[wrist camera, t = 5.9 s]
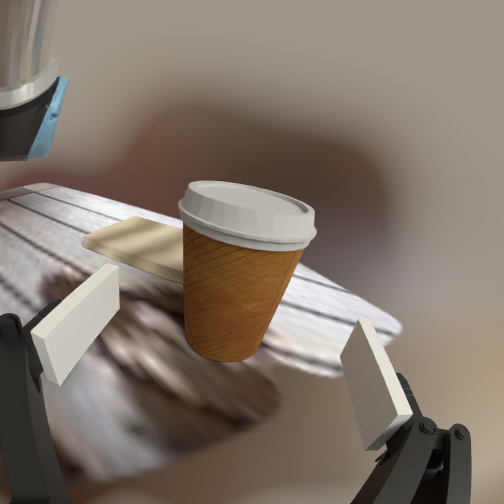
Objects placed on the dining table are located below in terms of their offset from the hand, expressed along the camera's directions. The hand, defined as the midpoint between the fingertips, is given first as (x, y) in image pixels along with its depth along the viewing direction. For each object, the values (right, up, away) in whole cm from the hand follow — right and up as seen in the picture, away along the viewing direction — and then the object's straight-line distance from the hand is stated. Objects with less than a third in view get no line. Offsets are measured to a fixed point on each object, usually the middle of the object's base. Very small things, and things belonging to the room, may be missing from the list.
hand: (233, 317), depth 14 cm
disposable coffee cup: (-2, -4, +9) cm, 10 cm away
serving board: (-10, +3, +21) cm, 24 cm away
